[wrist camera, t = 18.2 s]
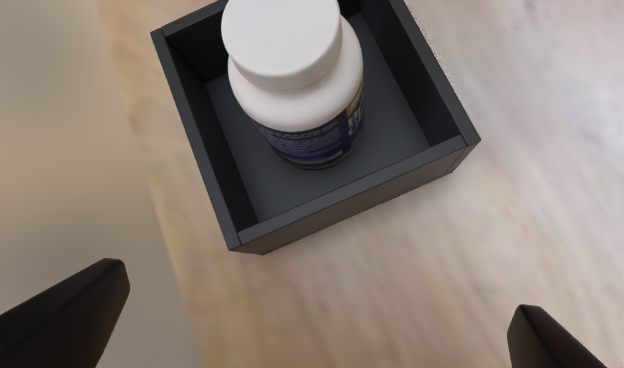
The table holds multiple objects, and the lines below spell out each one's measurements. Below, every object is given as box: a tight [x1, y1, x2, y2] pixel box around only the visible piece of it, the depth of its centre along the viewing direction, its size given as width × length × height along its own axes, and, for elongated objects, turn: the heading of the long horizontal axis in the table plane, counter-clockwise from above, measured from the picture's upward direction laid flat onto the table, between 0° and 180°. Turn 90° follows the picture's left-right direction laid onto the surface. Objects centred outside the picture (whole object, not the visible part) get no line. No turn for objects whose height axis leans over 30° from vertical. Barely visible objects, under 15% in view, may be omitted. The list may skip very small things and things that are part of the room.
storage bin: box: [150, 0, 481, 255], centre depth 21 cm, size 11×11×6 cm
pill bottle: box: [221, 0, 364, 169], centre depth 18 cm, size 5×5×10 cm
